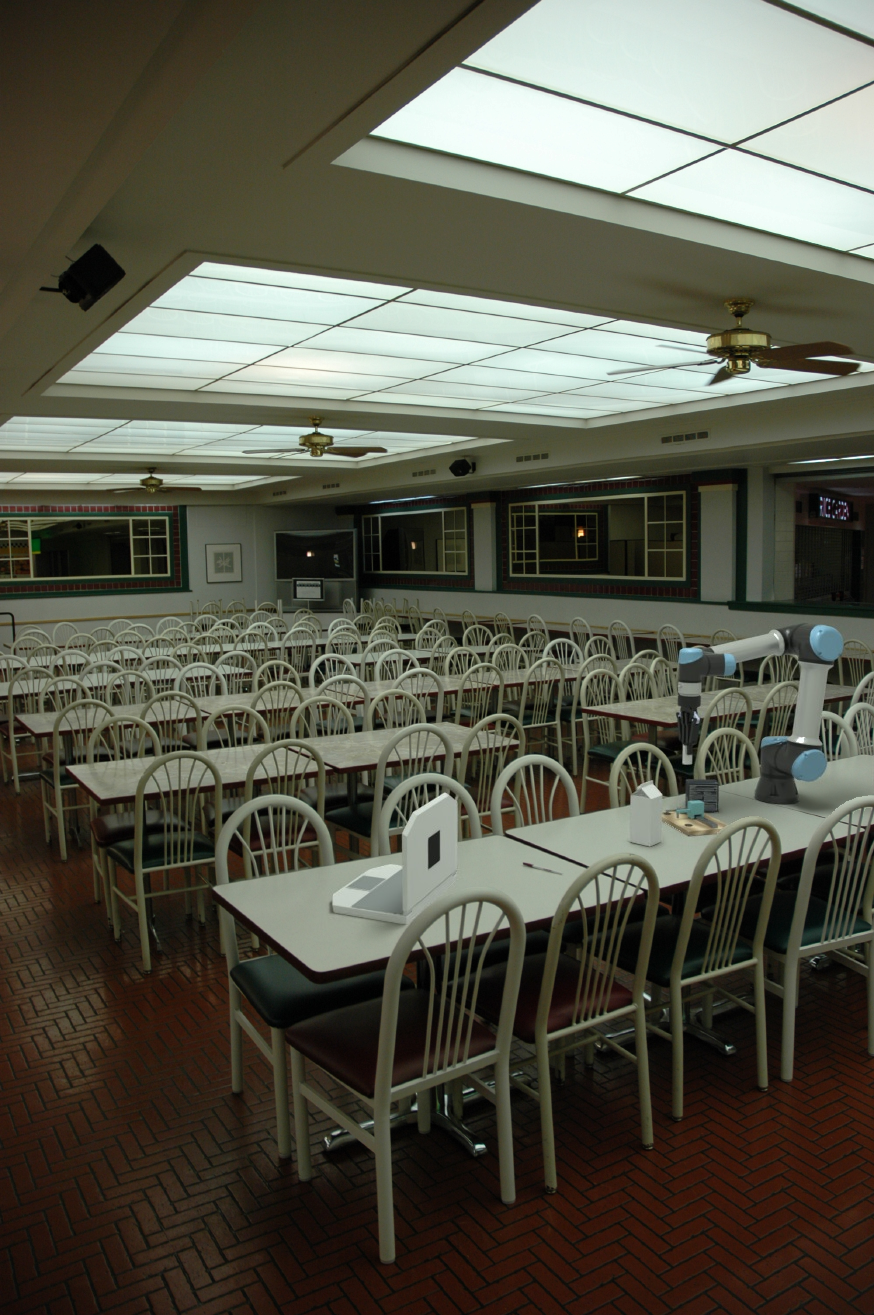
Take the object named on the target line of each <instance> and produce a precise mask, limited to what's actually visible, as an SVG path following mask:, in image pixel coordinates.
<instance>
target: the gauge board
mask: <svg viewBox="0 0 874 1315" xmlns="http://www.w3.org/2000/svg"><path fill="white" fill-rule="evenodd" d="M676 814H677V813H676V812H668V814H666V811H665V812H664V811H662V823H664V822H666V823H667V824H666V823H665V824H666V825H668V824H669V825H668V826H670V825H671V826H673V827H674V828H673V827H672V828H673V829H675V828H676V829H675V830H677V829H678V830H680V831H681V832H680V831H679V832H680V833H682V832H683V833H682V834H684V833H685V834H684V835H685V836H687V835H696V836H702V835H701V834H707V835H715V834H716V833H717V832H719V831H720V830H721V829H722V828H724V827H725V826H726V825H728V824H727V823H725V822H723V821H722V820H719V819H717V818H715V817H713V816H711V815H710V814H707V813H706V812H704V817H705V818H707V819H709V820H710V821H712V822H714V823H716V824H718V828H710V827H709V826H707V825H705V824H703V823H701V822H699V821H697V820H695V819H691V818H689V817H687V815H686V814H680V813H679V818H676ZM671 826H670V827H671ZM678 830H677V831H678ZM716 835H717V834H716Z"/></svg>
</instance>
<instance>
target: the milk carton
mask: <svg viewBox="0 0 874 1315" xmlns="http://www.w3.org/2000/svg"><path fill="white" fill-rule="evenodd" d="M629 806H630V811H629V843H633V844H637V845H643V846H645V847H652V846H654V845H657V844H660V843H661V842H662V833H663V832H662V831H663V830H662V827H663V821H662V812H663V793H661V791H660V790H659V789H658V788H657V786H655V785H654V780H649V781H646V782H643V783H641V784H640V785H638V786H636V791H634V792H633V793H632V794H630V805H629Z"/></svg>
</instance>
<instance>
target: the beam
mask: <svg viewBox="0 0 874 1315" xmlns="http://www.w3.org/2000/svg"><path fill="white" fill-rule="evenodd" d="M687 808H688V807H685V806H683V807H681V806H680V807H676V808H673V809H671V808H670V809H665V812H666V814H668V812H676V810H684V809H687ZM680 814H686V815H687V812H686V813H680ZM694 819H695V820H697V821H699V822H701V823H703V824H705V825H707V826H709V827H710V828H718V824H716V823H714V822H712V821H710V820H709V819H707V818H705V817H703V816H701V815H694Z"/></svg>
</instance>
